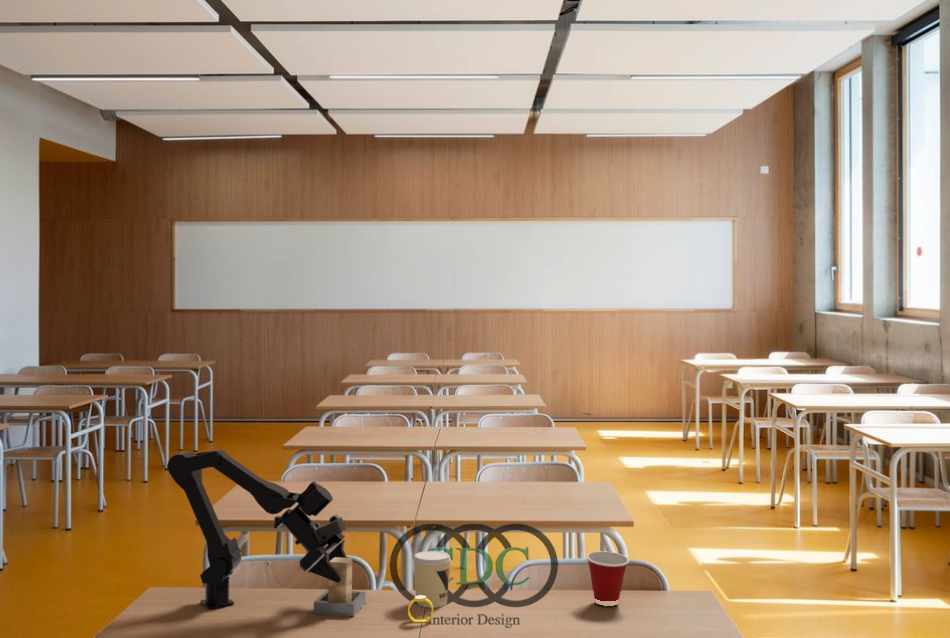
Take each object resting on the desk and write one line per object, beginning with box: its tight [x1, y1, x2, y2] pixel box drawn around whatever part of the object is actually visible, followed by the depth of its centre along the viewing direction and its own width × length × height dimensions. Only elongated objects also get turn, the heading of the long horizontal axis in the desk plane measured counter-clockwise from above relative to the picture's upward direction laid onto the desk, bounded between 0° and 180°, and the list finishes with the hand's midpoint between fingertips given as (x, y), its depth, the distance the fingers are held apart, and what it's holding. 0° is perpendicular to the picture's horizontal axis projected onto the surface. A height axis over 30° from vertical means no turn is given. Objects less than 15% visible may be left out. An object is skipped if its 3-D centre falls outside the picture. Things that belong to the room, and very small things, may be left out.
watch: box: [407, 595, 434, 624], centre depth 206 cm, size 6×3×6 cm, turn 93°
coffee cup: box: [413, 550, 451, 609], centre depth 220 cm, size 9×9×12 cm
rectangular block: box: [327, 557, 353, 603], centre depth 214 cm, size 4×4×12 cm
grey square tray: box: [313, 589, 367, 617], centre depth 214 cm, size 10×10×3 cm
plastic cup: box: [586, 550, 630, 601], centre depth 221 cm, size 11×11×12 cm
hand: (345, 576), depth 214 cm, fingers open, 9 cm apart
